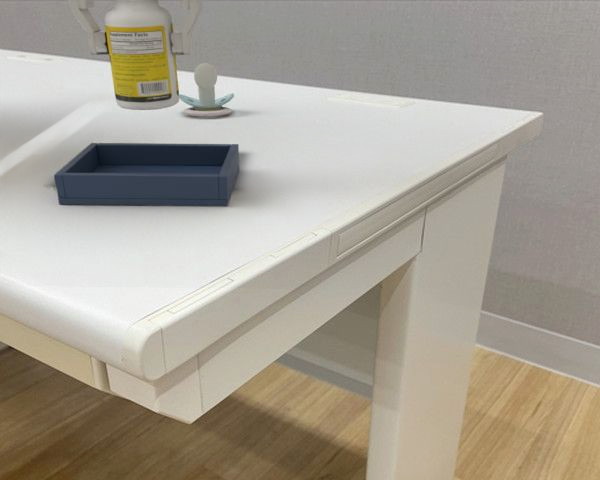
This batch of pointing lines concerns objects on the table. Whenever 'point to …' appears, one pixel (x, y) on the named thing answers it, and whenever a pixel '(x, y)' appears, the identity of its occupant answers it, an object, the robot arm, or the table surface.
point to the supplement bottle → (141, 55)
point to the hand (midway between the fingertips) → (142, 54)
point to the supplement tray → (150, 175)
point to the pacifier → (206, 94)
